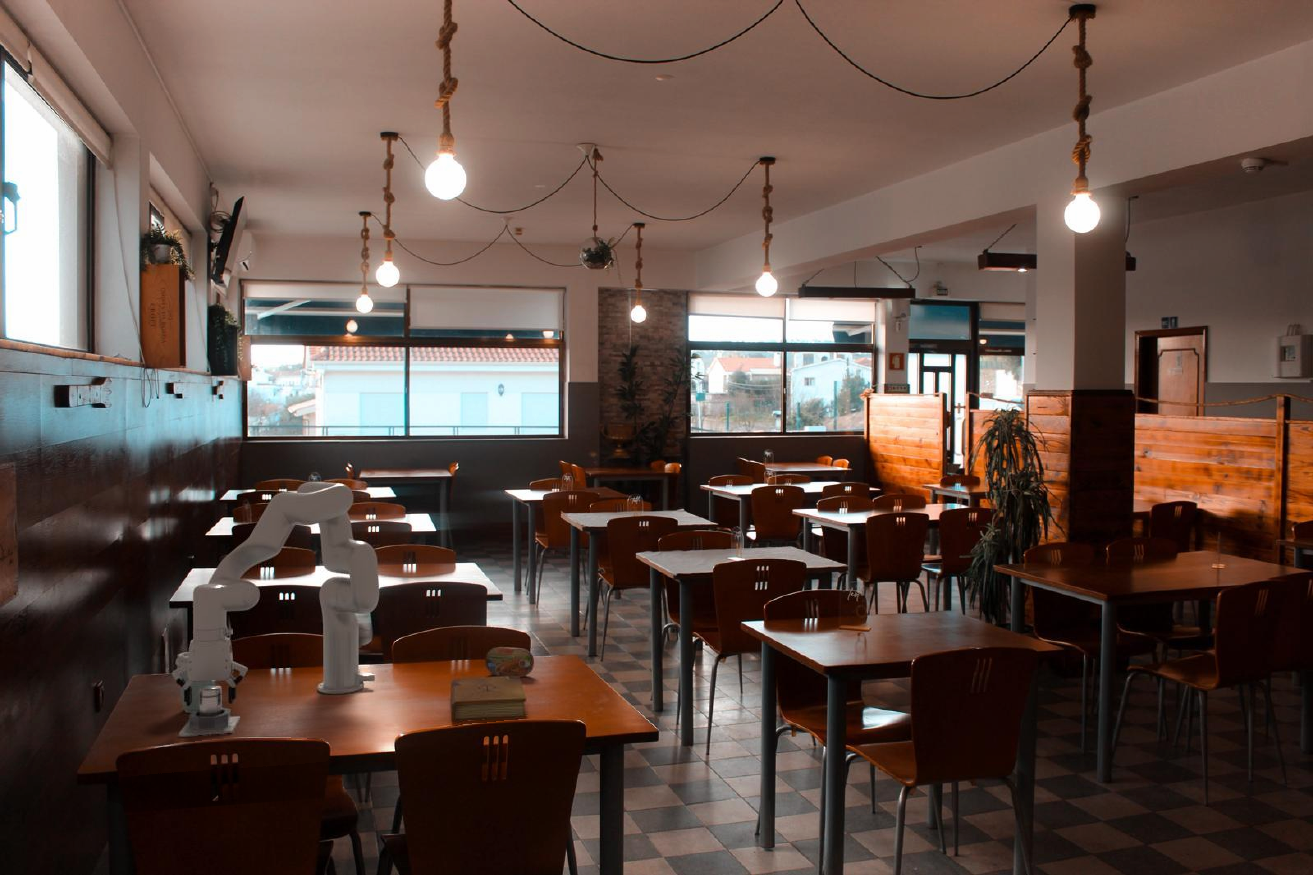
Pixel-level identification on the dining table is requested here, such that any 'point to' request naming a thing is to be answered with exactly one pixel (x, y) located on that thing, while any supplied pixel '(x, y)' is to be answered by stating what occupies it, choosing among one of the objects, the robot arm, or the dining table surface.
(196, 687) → the disposable coffee cup
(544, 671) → the dining table surface
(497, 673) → the tin
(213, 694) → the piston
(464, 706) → the diary
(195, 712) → the ring jig
